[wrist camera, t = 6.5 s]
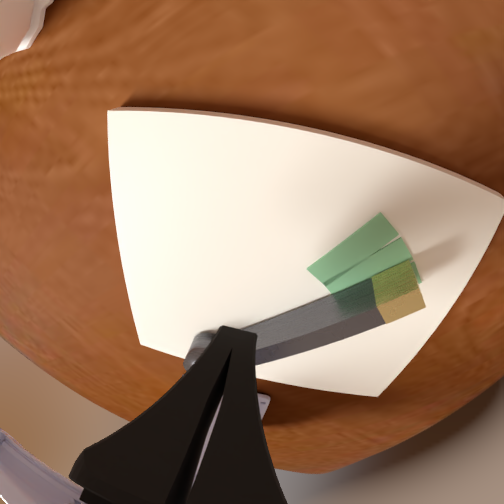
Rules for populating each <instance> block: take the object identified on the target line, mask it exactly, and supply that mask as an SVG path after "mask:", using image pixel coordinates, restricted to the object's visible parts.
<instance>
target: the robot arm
mask: <svg viewBox="0 0 504 504" xmlns="http://www.w3.org/2000/svg"><path fill="white" fill-rule="evenodd" d="M257 337H258V335H257V334H256V333H253V332H249V331H245V330H241V329H236V328H232V327H228V326H224V325H222V326H220V327H219V329H218V331H217V332H216V334H215V336H214V337H213V339H212V340H211V342H210V343H209V345H208V346H207V347H206V349H205V350H204V351H203V353H202V354H201V355H200V356H199V358H198V359H197V360H196V361H195V362H194V364H193V365H192V366H191V367H190V368H189V370H188V371H187V372H186V373H185V374H184V375H182V377H181V378H180V379H179V380H178V381H177V382H176V384H175V385H174V386H173V387H172V388H171V389H170V390H169V391H167V392H166V393H165V394H164V395H163V396H162V397H161V398H160V399H159V400H158V401H156V402H155V403H154V404H153V405H152V406H151V407H149V408H148V409H147V410H146V411H144V412H143V413H142V414H141V415H139V416H138V417H137V418H135V419H134V420H132V421H131V422H130V423H128V424H127V425H125V426H123V427H122V428H121V429H119V430H118V431H116V432H114V433H113V434H111V435H109V436H108V437H106V438H104V439H102V440H100V441H99V442H97V443H95V444H93V445H91V446H89V447H87V448H85V449H84V450H83V451H82V453H81V454H80V455H79V457H78V458H77V460H76V461H75V463H74V465H73V467H72V470H71V472H70V474H69V478H70V479H71V480H72V481H74V482H75V483H76V484H75V483H74V482H72V481H70V480H69V479H67V478H65V477H64V476H62V475H61V474H59V473H58V472H56V471H55V470H53V469H51V468H50V467H48V466H47V465H46V464H44V463H43V462H42V461H40V460H39V459H37V458H36V457H35V456H33V455H32V454H30V453H29V452H28V451H27V450H25V449H24V448H23V447H22V445H21V444H20V443H18V442H17V441H16V440H15V439H14V438H13V437H11V436H10V435H9V434H8V433H6V432H5V431H4V430H2V429H1V428H0V497H2V499H3V500H4V501H5V502H6V503H7V504H81V503H82V504H287V501H286V499H285V497H284V494H283V492H282V489H281V487H280V484H279V481H278V479H277V476H276V473H275V470H274V466H273V463H272V460H271V457H270V454H269V450H268V446H267V442H266V438H265V434H264V430H263V425H262V418H263V416H264V414H265V411H266V409H267V407H268V405H269V402H270V397H269V396H267V395H263V394H258V393H257V383H256V366H255V356H256V343H257ZM77 484H78V485H77ZM79 485H80V486H79ZM82 487H83V488H82Z"/></svg>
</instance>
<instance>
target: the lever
mask: <svg viewBox="0 0 504 504" xmlns="http://www.w3.org/2000/svg"><path fill="white" fill-rule="evenodd" d="M424 308H426V305H425V302H424V299H423V296H422V293H421V290H420V287H419V284H418V281H417V278H416V276H415V273H414V271H413V268H412V266H411V264H410V261H409V260H407V261H405V262H403V263H401V264H399V265H396V266H394V267H392V268H390V269H388V270H386V271H383V272H381V273H379V274H377V275H375V276H372V278H370V279H368V280H366V281H363V282H361V283H359V284H356V285H354V286H352V287H349V288H347V289H345V290H342V291H340V292H338V293H335V294H333V295H331V296H328V297H326V298H323V299H321V300H318V301H316V302H313V303H311V304H308V305H306V306H303V307H301V308H298V309H296V310H293V311H291V312H288V313H285V314H283V315H280V316H277V317H275V318H272V319H269V320H267V321H264V322H261V323H259V324H256V325H253V326H250V327H247V328H245V329H242V330H245V331H249V332H253V333H256V334H257V335H258V337H257V343H256V356H255V366H256V365H260V364H264V363H268V362H271V361H275V360H279V359H282V358H286V357H289V356H293V355H296V354H300V353H303V352H306V351H309V350H313V349H316V348H319V347H322V346H325V345H328V344H331V343H334V342H337V341H340V340H343V339H346V338H349V337H352V336H354V335H357V334H360V333H363V332H365V331H368V330H371V329H373V328H376V327H379V326H381V325H384V324H388V323H391V322H393V321H396V320H398V319H400V318H403V317H405V316H408V315H410V314H412V313H415V312H417V311H419V310H421V309H424ZM214 336H215V334H213V333H200V334H197V335H196V336H195V337H194V339H193V341H192V344H191V346H190V348H189V350H188V353H187V355H186V357H185V360H184V362H183V366H184V368H185V369H186V371H188V370H189V368H190V367H191V366H192V365H193V364H194V362H195V361H196V360H197V359H198V358H199V356H200V355H201V354H202V353H203V351H204V350H205V349H206V347H207V346H208V345H209V343H210V342H211V340H212V339H213V337H214Z"/></svg>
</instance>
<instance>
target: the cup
mask: <svg viewBox="0 0 504 504" xmlns="http://www.w3.org/2000/svg"><path fill="white" fill-rule="evenodd" d="M53 2H54V0H0V59H2V58H3V57H5V56H7V55H9V54H11V53H14V52H17V51H21V50H24V49H27V48H30V47H31V45H32V43H33V42H34V40H35V38H36V37H37V35H38V34H39V32H40V31H41V29H42V28H43V23H44V17H45V11H46V8H47V7H48V6H49V5H50V4H52V3H53Z"/></svg>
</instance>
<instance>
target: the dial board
mask: <svg viewBox="0 0 504 504" xmlns="http://www.w3.org/2000/svg"><path fill="white" fill-rule="evenodd" d="M108 147H109V164H110V177H111V188H112V197H113V206H114V214H115V222H116V229H117V236H118V242H119V249H120V255H121V260H122V266H123V271H124V276H125V281H126V286H127V291H128V296H129V300H130V304H131V309H132V313H133V317H134V321H135V325H136V329H137V333H138V337H139V340H140V344H141V345H144V346H147V347H150V348H153V349H156V350H159V351H162V352H165V353H168V354H171V355H174V356H177V357H181V358H184V359H185V357H186V355H187V353H188V350H189V348H190V346H191V344H192V341H193V339H194V337H195V336H196V335H197V334H200V333H213V334H216V332H217V331H218V329H219V327H220V326H222V325H224V326H228V327H232V328H236V329H241V330H242V329H245V328H247V327H250V326H253V325H256V324H259V323H261V322H264V321H267V320H269V319H272V318H275V317H277V316H280V315H283V314H285V313H288V312H291V311H293V310H296V309H298V308H301V307H303V306H306V305H308V304H311V303H313V302H316V301H318V300H321V299H323V298H326V297H328V296H331V295H333V294H335V293H338V292H340V291H342V290H345V289H347V288H349V287H352V286H354V285H356V284H359V283H361V282H363V281H366V280H368V279H370V278H372V276H375V275H377V274H379V273H381V272H383V271H386V270H388V269H390V268H392V267H394V266H396V265H399V264H401V263H403V262H405V261H407V260H409V261H410V264H411V266H412V268H413V271H414V273H415V276H416V278H417V281H418V284H419V287H420V290H421V293H422V296H423V299H424V302H425V305H426V308H424V309H421V310H419V311H417V312H415V313H412V314H410V315H408V316H405V317H403V318H400V319H398V320H396V321H393V322H391V323H388V324H384V325H381V326H379V327H376V328H373V329H371V330H368V331H365V332H363V333H360V334H357V335H354V336H352V337H349V338H346V339H343V340H340V341H337V342H334V343H331V344H328V345H325V346H322V347H319V348H316V349H313V350H309V351H306V352H303V353H300V354H296V355H293V356H289V357H286V358H282V359H279V360H275V361H271V362H268V363H264V364H260V365H256V378H260V379H265V380H269V381H274V382H279V383H284V384H289V385H295V386H300V387H306V388H312V389H318V390H325V391H332V392H339V393H347V394H355V395H364V396H374V397H378V396H379V395H380V394H381V393H382V392H383V391H384V390H385V389H386V388H387V387H388V385H389V384H390V383H391V382H392V381H393V380H394V379H395V378H396V377H397V376H398V375H399V373H400V372H401V371H402V370H403V369H404V368H405V367H406V365H407V364H408V363H409V362H410V361H411V360H412V358H413V357H414V356H415V355H416V354H417V352H418V351H419V350H420V349H421V347H422V346H423V345H424V344H425V342H426V341H427V340H428V339H429V337H430V336H431V335H432V333H433V332H434V331H435V329H436V328H437V327H438V325H439V324H440V323H441V321H442V320H443V318H444V317H445V316H446V314H447V313H448V311H449V310H450V308H451V307H452V305H453V304H454V303H455V301H456V300H457V298H458V296H459V295H460V293H461V292H462V290H463V289H464V287H465V286H466V284H467V282H468V281H469V279H470V277H471V276H472V274H473V272H474V271H475V269H476V267H477V265H478V264H479V262H480V260H481V258H482V256H483V255H484V253H485V251H486V249H487V247H488V245H489V243H490V241H491V239H492V237H493V235H494V233H495V231H496V229H497V227H498V225H499V223H500V221H501V219H502V217H503V214H504V197H503V196H502V195H501V194H500V193H499V192H496V191H494V190H492V189H490V188H488V187H486V186H484V185H482V184H480V183H478V182H475V181H473V180H471V179H469V178H466V177H464V176H462V175H460V174H457V173H455V172H452V171H450V170H447V169H445V168H442V167H440V166H437V165H435V164H432V163H430V162H427V161H424V160H421V159H419V158H416V157H413V156H410V155H407V154H404V153H401V152H398V151H395V150H392V149H389V148H386V147H383V146H379V145H376V144H373V143H369V142H366V141H362V140H359V139H355V138H352V137H348V136H344V135H340V134H336V133H332V132H328V131H324V130H319V129H315V128H310V127H306V126H301V125H296V124H291V123H286V122H280V121H275V120H269V119H263V118H257V117H250V116H243V115H236V114H228V113H219V112H210V111H200V110H188V109H173V108H152V107H118V108H115V109H112V110H108Z"/></svg>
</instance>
